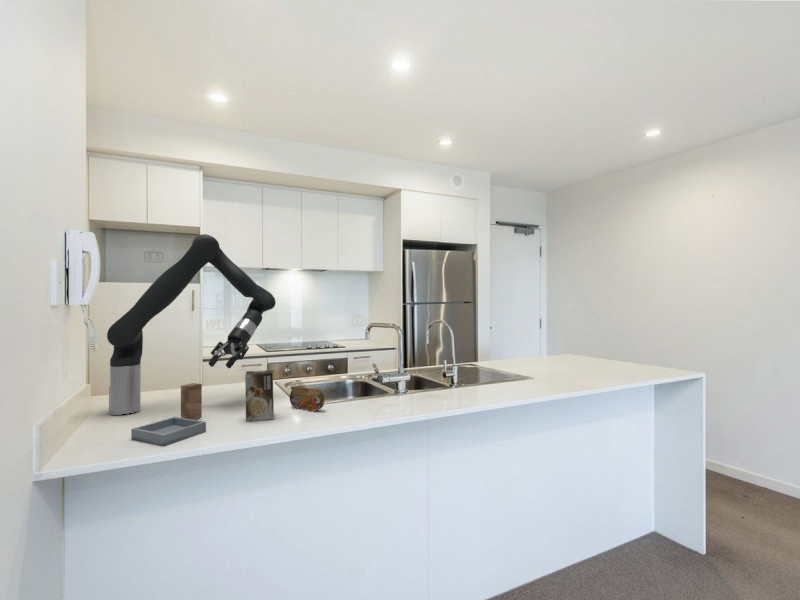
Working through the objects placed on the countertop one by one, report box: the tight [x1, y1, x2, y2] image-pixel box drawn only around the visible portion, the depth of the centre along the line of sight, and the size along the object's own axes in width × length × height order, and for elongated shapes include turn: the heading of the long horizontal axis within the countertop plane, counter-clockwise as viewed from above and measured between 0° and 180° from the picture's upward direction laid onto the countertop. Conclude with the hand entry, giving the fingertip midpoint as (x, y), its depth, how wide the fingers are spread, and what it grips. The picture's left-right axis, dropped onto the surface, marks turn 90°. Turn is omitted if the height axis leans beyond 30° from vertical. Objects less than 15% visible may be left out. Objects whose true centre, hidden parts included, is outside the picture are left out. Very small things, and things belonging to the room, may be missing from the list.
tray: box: [130, 416, 207, 447], centre depth 124 cm, size 14×14×3 cm
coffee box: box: [244, 369, 275, 422], centre depth 142 cm, size 9×6×16 cm
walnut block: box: [180, 382, 203, 421], centre depth 140 cm, size 4×4×12 cm
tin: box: [289, 386, 325, 412], centre depth 153 cm, size 15×3×8 cm, turn 62°
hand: (218, 366), depth 150 cm, fingers open, 8 cm apart
